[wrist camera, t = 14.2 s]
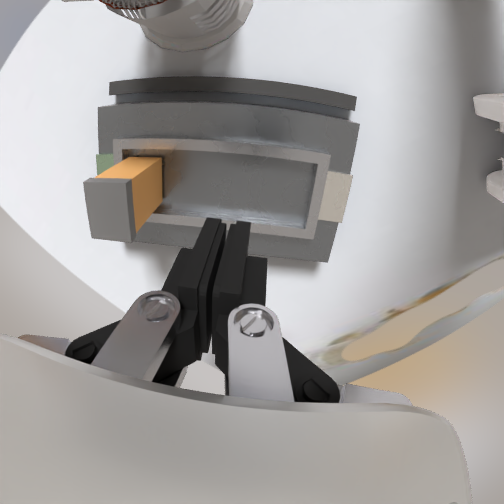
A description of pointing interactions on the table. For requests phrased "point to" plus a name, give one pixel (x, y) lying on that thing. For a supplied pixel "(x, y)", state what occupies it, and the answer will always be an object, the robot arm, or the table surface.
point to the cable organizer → (499, 110)
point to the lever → (123, 198)
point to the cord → (234, 88)
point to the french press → (184, 20)
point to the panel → (238, 171)
